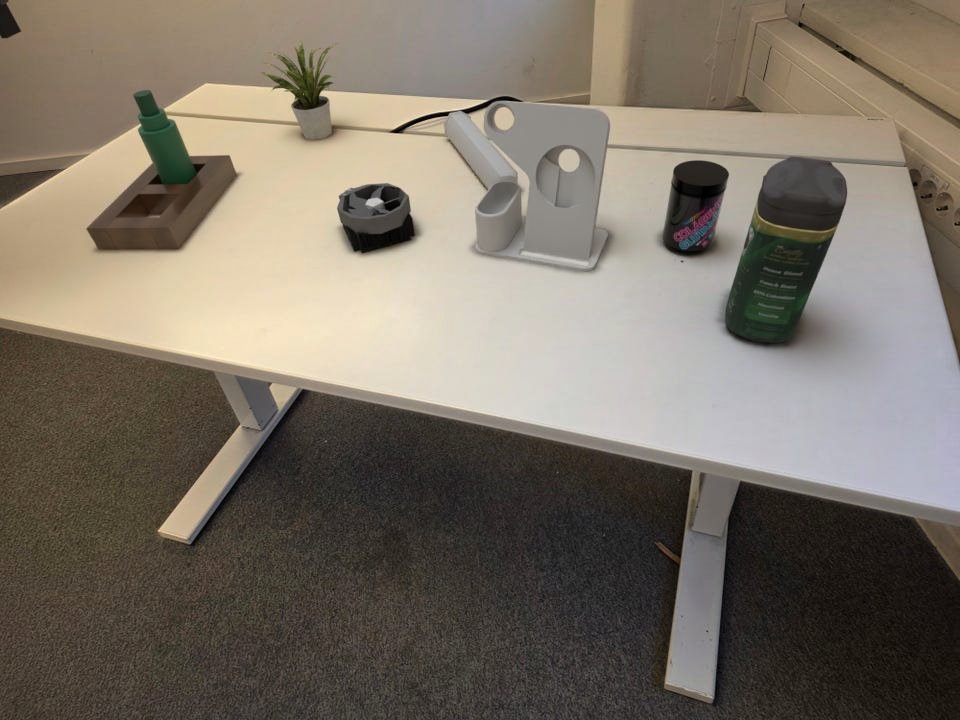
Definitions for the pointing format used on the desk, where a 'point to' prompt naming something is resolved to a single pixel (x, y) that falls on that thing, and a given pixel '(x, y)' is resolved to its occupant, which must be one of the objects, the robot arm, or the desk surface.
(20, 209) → the desk surface
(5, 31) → the robot arm
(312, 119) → the house plant
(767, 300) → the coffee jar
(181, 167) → the bottle
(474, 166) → the tube
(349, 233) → the cpu cooler
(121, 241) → the bottle holder
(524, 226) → the phone holder
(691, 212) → the supplement container
